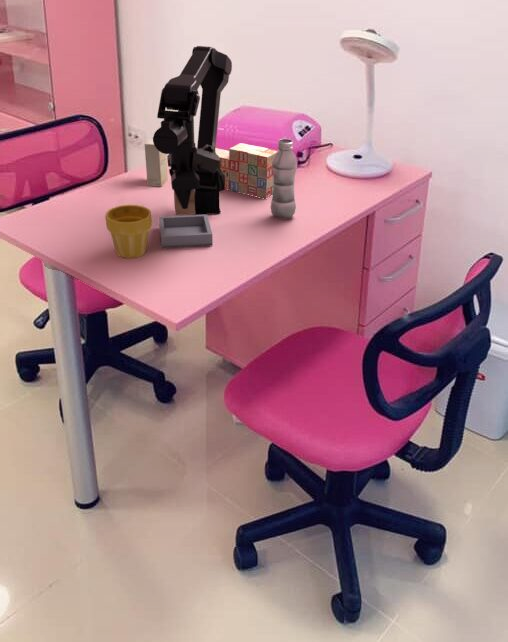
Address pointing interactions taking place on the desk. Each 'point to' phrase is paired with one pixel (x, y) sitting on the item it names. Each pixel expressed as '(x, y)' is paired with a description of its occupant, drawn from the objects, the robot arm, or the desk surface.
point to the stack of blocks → (248, 169)
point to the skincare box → (155, 165)
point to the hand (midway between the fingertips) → (184, 204)
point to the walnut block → (191, 205)
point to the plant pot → (129, 229)
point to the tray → (185, 231)
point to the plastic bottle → (284, 180)
